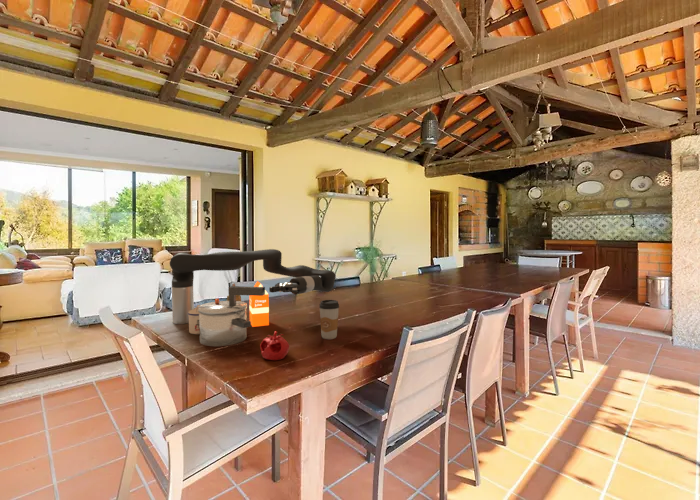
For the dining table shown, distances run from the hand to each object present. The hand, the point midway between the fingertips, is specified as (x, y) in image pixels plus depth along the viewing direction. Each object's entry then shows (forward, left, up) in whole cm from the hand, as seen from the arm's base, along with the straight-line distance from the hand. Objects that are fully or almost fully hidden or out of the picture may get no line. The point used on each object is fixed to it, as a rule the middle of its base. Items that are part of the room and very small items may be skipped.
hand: (270, 289), depth 143 cm
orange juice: (-21, +9, -20) cm, 30 cm away
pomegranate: (+19, -13, -20) cm, 31 cm away
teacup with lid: (-30, -14, -20) cm, 39 cm away
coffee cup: (+18, +16, -20) cm, 31 cm away
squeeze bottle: (-36, +5, -20) cm, 42 cm away
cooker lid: (-10, -12, -8) cm, 17 cm away
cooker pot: (-9, -14, -20) cm, 26 cm away
